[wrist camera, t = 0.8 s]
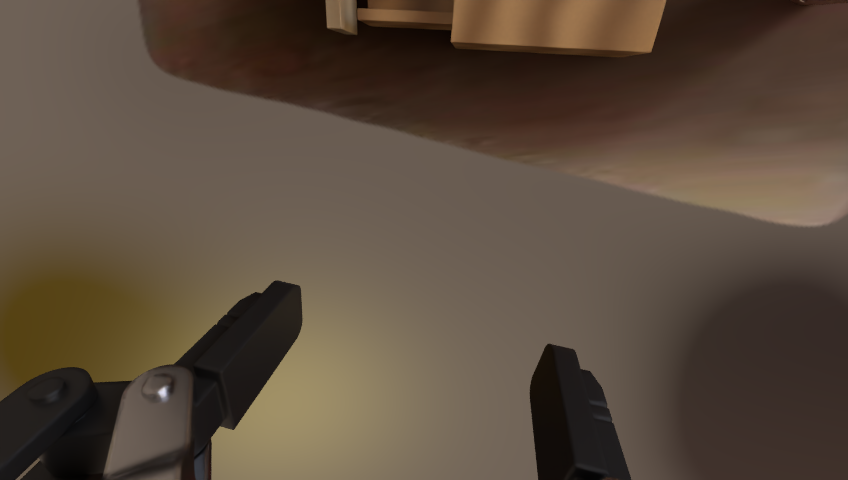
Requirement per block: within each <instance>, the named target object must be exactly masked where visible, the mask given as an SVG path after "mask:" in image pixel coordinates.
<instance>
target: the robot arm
mask: <svg viewBox="0 0 848 480" xmlns="http://www.w3.org/2000/svg"><path fill="white" fill-rule="evenodd" d="M301 326H302V302H301V288H300V286H298V285H295V284H290V283H286V282H282V281H274V282H273V283H271V285H270V286H269V287H268V288H267V289H266V290H265V291H264V292H263V293H257V292H255V293H253V294H251V295H250V296H247V297H246V298H244V299H242V300H240V301H239V302H238V303H237V304H236V305H235V306H234V307H233V308H231V310H229V312H228V313H227V315H224V316H223V317H222V318H221V319H220V320H219V321H218V323H217V325H214V326H213V327H212V328H211V329H210V330H209V331H208V332H207V333H206V334H205V335H204V336H203V337H202V338H201V339H200V340H199V341H198V342H197V343H196V344H195V345H194V346H193V347H192V348H191V349H189V350H188V351H187V353H185V354H184V355H183V356H182V357H181V358H180V359H179V360H178V361H177V362H176V363H175V364H174V365H164V366H160V367H156V368H153V369H151V370H149V371H147V372H145V373H143V374H141V375H140V376H138V377H137V378H136V379H134V380H133V381H119V382H100V383H99V382H98V383H93V381H92V379H91V377H90V375H89V373H88V372H87V371H86V370H84V369H81V368H75V367H68V368H61V369H57V370H53V371H50V372H47V373H44V374H42V375H39V376H37V377H35V378H33V379H31V380H30V381H28V382H26V383H25V384H23V385H22V386H20V387H19V388H18V389H16V390H15V391H14V392H12V393H11V394H10V395H9V396H7V397H6V398H4V399H3V400H2V401H1V402H0V480H15V479H17V478H18V477H19V476H20V474H22V473H23V472H24V471H25V470H26V469H27V468H28V467H29V466H30V465H31V464H32V463H33V462H34V461H35V460H37V458H39V459H40V461H39V462H38V463H37V464H36V465H35V466H34V467H33V468H32V469H31V470H30V471H29V472H28V473H27V474H26V475H25V476H23V478H22V479H20V480H211V449H212V443H211V437H212V436H213V434H214V433H215V432H216V430H217V429H218V428H219V426H221V427H225V428H228V429H232V430H234V429H235V427H236V426H237V425H238V423H239V422H240V420H241V418H242V417H243V416H244V414H245V413H246V411H247V410H248V409H249V407H250V405H251V404H252V403H253V401H254V400H255V398H256V397H257V396H258V394H259V393H260V391H261V390H262V388H263V387H264V385H265V384H266V383H267V381H268V380H269V378H270V377H271V375H272V374H273V372H274V371H275V369H276V368H277V367H278V365H279V364H280V362H281V361H282V359H283V358H284V356H285V355H286V353H287V352H288V350H289V349H290V348H291V346H292V345H293V343H294V342H295V340H296V339H297V337H298V335H299V333H300V330H301ZM530 403H531V413H532V422H533V433H534V442H535V452H536V461H537V472H538V480H631V477H630V474H629V471H628V468H627V464H626V462H625V458H624V455H623V452H622V449H621V446H620V443H619V439H618V436H617V433H616V430H615V427H614V424H613V423H612V417H611V414H610V411H609V409H608V408H607V402H606V399H605V396H604V392H603V389H602V387H601V386H600V384H599V383H598V382H597V380H596V379H595V377H594V376H593V375H592V373H591V372H590V371H587V370H582V369H580V366H579V362H578V358H577V355H576V352H575V350H573V349H569V348H565V347H561V346H556V345H552V344H547V346H546V347H545V349H544V351H543V354H542V356H541V358H540V360H539V363H538V365H537V368H536V370H535V372H534V374H533V377H532V380H531V385H530Z"/></svg>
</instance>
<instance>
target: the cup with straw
mask: <svg viewBox="0 0 848 480" xmlns="http://www.w3.org/2000/svg"><path fill="white" fill-rule="evenodd" d="M790 1H791V2H792V3H794V4H796V5H800V6H809V5H825V4H838V3H848V0H790Z"/></svg>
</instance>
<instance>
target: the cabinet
mask: <svg viewBox="0 0 848 480" xmlns="http://www.w3.org/2000/svg"><path fill="white" fill-rule="evenodd" d="M665 3H666V0H454V5H453V18H452V31H451V43H452V44H453V46H454V47H455V48H456V49H473V50H492V51H510V52H528V53H547V54H565V55H584V56H602V57H626V56H632V55H638V54H645V53H650V52H651V51H652V47H653V44H654V41H655V37H656V34H657V30H658V27H659V24H660V20H661V17H662V14H663V10H664V7H665Z"/></svg>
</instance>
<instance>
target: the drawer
mask: <svg viewBox="0 0 848 480" xmlns="http://www.w3.org/2000/svg"><path fill="white" fill-rule="evenodd" d="M453 5H454V0H368V9H365V8H357V0H326V17H327V28H328V29H331V30H334V31H337V32H340V33H343V34H348V35H357V19H358V20H359V21H361V22H363V23H365V24H367V25H369V26H374V27H394V28H414V29H435V30H452V18H453Z"/></svg>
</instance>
